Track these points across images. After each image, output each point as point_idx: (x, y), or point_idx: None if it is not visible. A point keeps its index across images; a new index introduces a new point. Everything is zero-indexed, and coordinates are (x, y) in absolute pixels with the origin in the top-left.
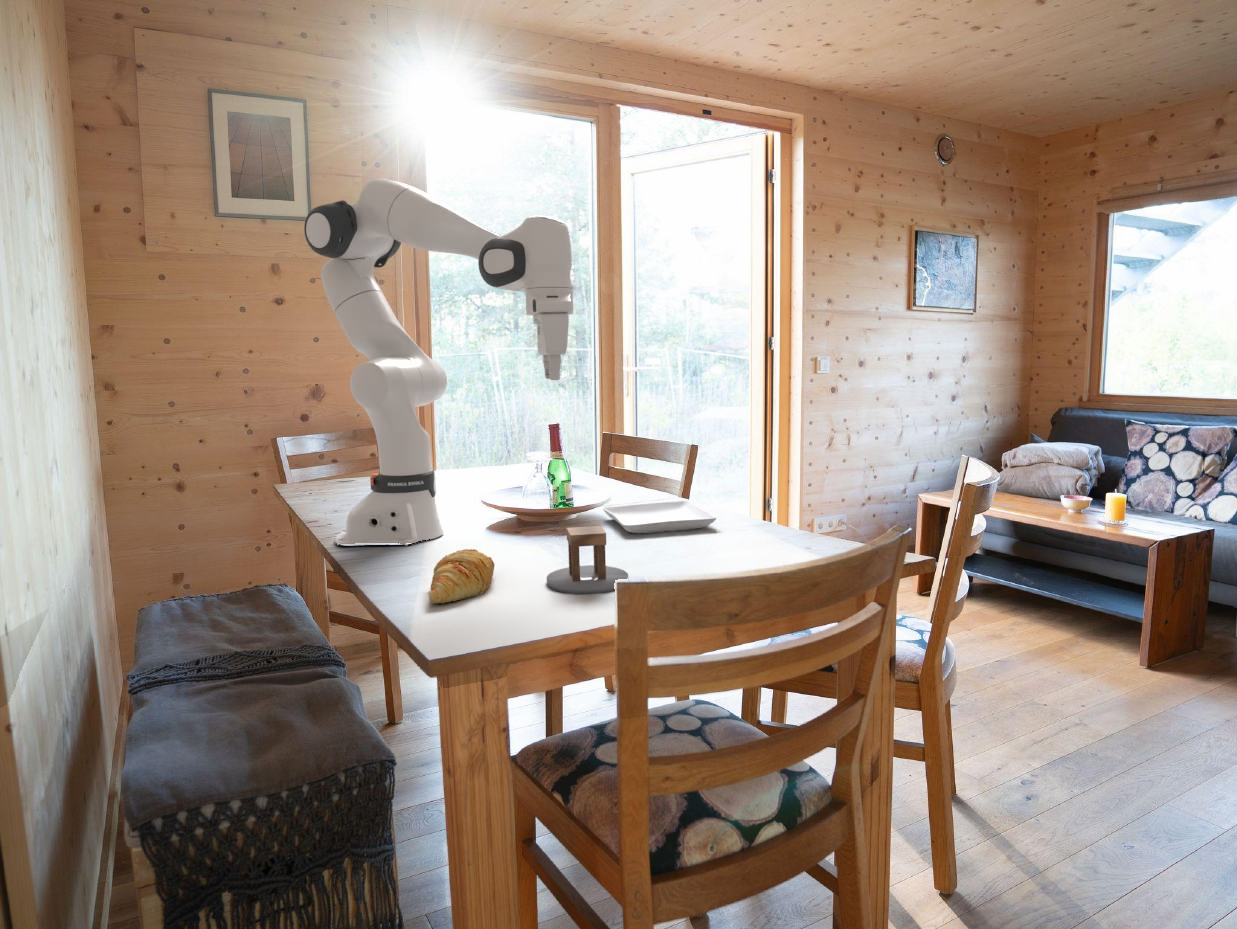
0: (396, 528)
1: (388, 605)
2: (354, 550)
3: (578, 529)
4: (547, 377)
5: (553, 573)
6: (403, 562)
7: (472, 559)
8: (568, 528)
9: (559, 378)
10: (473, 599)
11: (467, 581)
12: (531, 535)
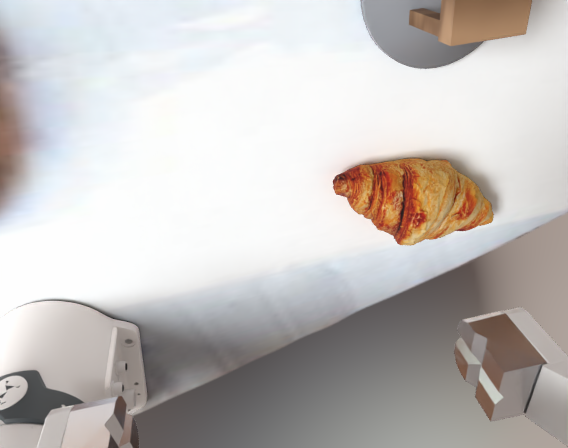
0: (120, 364)
1: (451, 260)
2: (165, 378)
3: (477, 15)
4: (134, 433)
5: (404, 56)
6: (245, 302)
7: (451, 199)
8: (458, 40)
9: (524, 309)
10: (465, 168)
11: (475, 188)
12: (17, 131)
